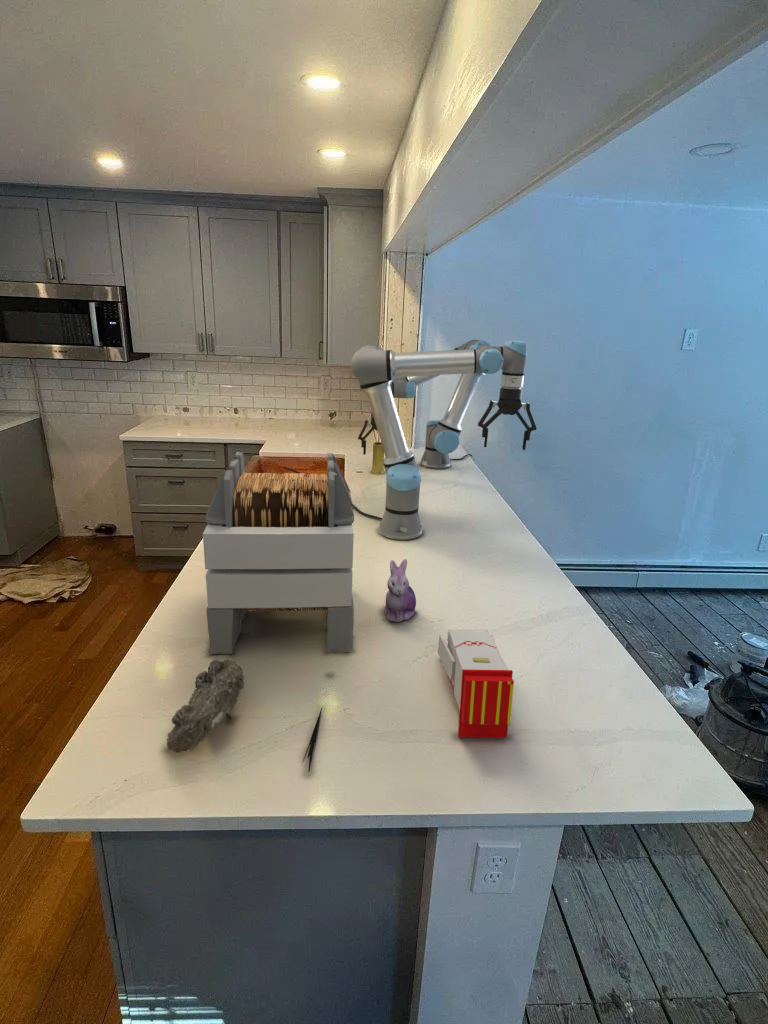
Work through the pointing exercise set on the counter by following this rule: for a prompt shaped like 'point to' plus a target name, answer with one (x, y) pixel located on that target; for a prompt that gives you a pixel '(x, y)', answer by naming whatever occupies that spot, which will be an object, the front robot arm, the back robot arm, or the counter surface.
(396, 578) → the figurine
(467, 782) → the counter surface
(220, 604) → the record storage crate
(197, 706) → the fossil
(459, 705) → the toy
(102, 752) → the counter surface
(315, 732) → the feather
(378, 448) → the olive drinking cup
